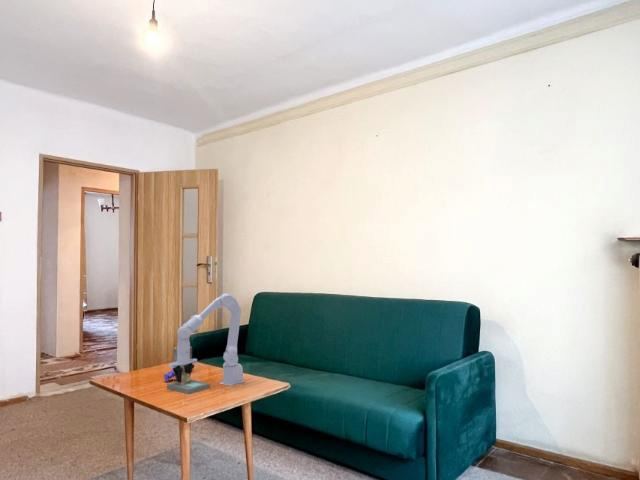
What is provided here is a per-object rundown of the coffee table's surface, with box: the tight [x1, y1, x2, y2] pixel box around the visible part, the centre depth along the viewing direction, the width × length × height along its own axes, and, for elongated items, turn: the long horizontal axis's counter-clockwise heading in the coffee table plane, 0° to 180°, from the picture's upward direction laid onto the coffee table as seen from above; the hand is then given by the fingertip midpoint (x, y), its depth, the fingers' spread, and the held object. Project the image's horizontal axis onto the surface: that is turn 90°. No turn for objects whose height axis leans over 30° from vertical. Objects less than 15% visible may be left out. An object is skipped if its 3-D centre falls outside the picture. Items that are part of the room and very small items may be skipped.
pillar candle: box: [173, 345, 193, 373], centre depth 233 cm, size 10×10×15 cm
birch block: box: [176, 373, 190, 385], centre depth 202 cm, size 4×4×6 cm
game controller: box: [163, 369, 176, 383], centre depth 214 cm, size 10×8×10 cm
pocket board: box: [166, 378, 211, 395], centre depth 200 cm, size 12×16×3 cm
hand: (183, 381), depth 202 cm, fingers closed on birch block, 4 cm apart
